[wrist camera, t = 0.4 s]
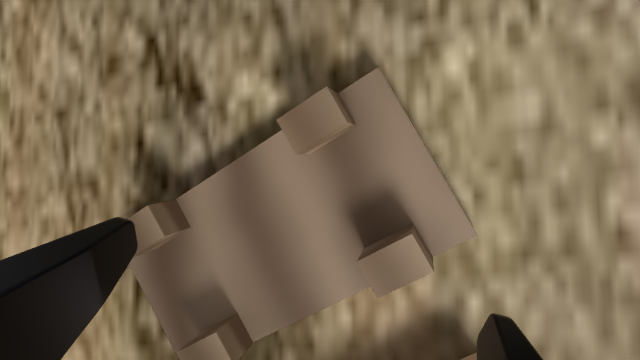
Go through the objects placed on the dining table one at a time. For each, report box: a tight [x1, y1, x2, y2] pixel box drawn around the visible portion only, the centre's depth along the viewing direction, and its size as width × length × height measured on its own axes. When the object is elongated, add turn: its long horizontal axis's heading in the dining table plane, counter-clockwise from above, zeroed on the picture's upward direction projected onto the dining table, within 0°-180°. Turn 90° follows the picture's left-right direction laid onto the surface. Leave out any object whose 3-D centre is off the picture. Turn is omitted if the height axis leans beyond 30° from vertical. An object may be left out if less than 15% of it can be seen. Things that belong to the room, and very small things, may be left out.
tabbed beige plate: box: [128, 67, 477, 360], centre depth 22 cm, size 20×10×4 cm, turn 121°
